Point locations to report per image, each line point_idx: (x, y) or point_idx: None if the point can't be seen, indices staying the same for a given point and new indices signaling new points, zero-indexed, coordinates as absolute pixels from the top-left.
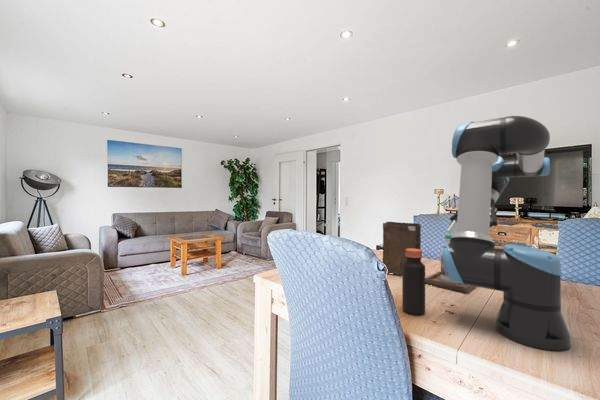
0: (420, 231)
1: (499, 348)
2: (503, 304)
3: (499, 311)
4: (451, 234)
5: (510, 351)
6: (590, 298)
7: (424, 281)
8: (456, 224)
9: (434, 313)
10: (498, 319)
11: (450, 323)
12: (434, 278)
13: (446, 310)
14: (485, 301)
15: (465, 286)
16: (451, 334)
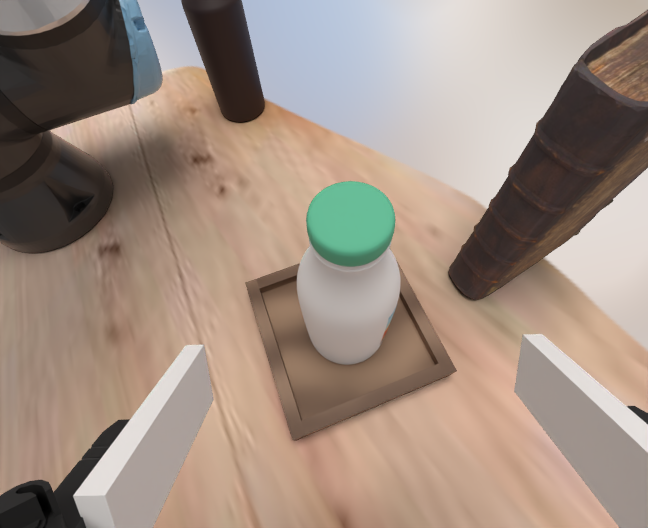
0: (580, 145)
1: (83, 128)
2: (58, 138)
3: (80, 152)
4: (350, 216)
5: (69, 133)
6: None
7: (197, 45)
8: (629, 509)
9: (214, 131)
10: (88, 155)
11: (171, 127)
12: (399, 299)
13: (210, 159)
14: (187, 287)
15: (256, 290)
16: (149, 104)
